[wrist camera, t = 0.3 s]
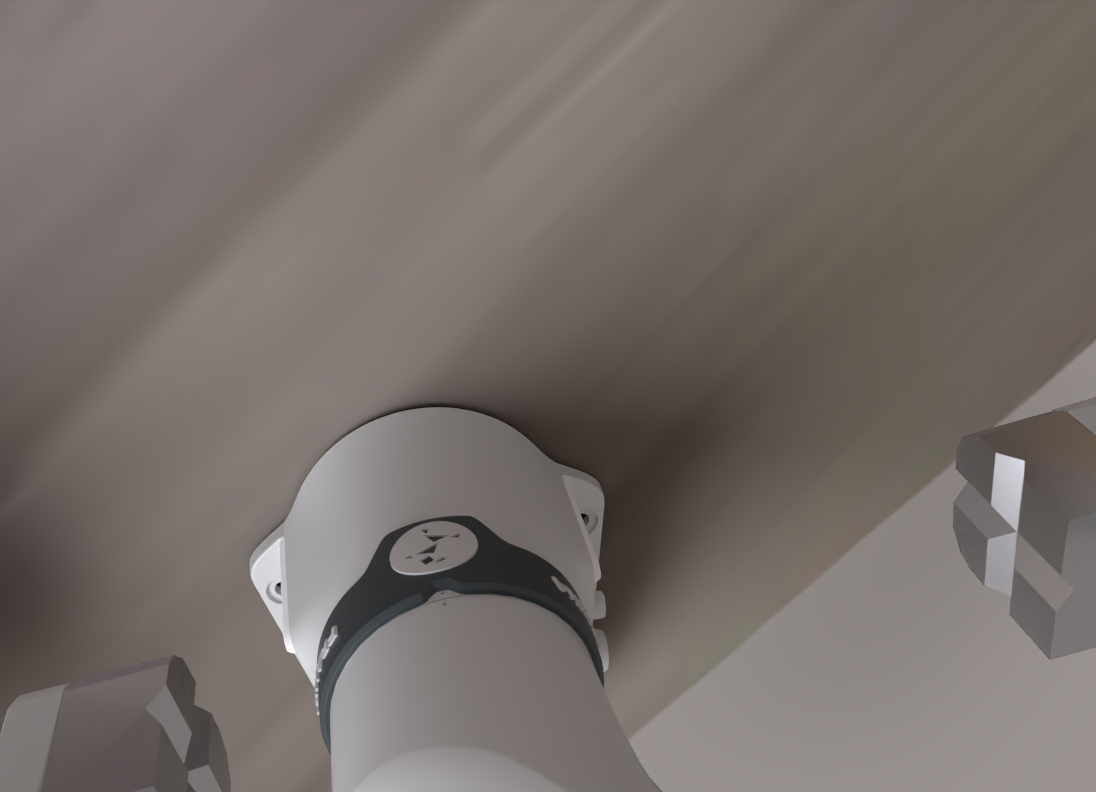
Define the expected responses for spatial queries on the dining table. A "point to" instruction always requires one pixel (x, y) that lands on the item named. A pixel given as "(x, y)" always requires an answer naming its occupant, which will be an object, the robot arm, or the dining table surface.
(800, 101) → the dining table surface
